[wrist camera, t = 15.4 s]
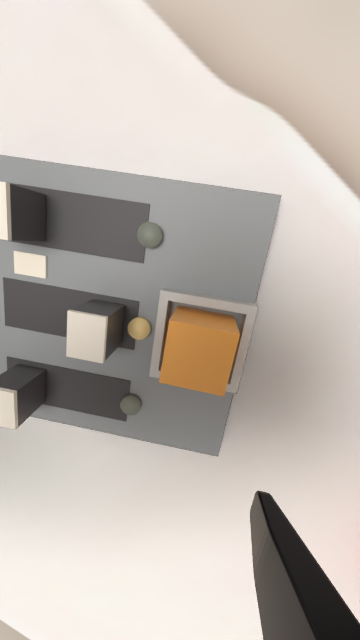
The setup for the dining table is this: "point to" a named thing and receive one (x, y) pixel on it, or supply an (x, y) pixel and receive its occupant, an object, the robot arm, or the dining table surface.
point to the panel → (130, 292)
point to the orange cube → (199, 350)
